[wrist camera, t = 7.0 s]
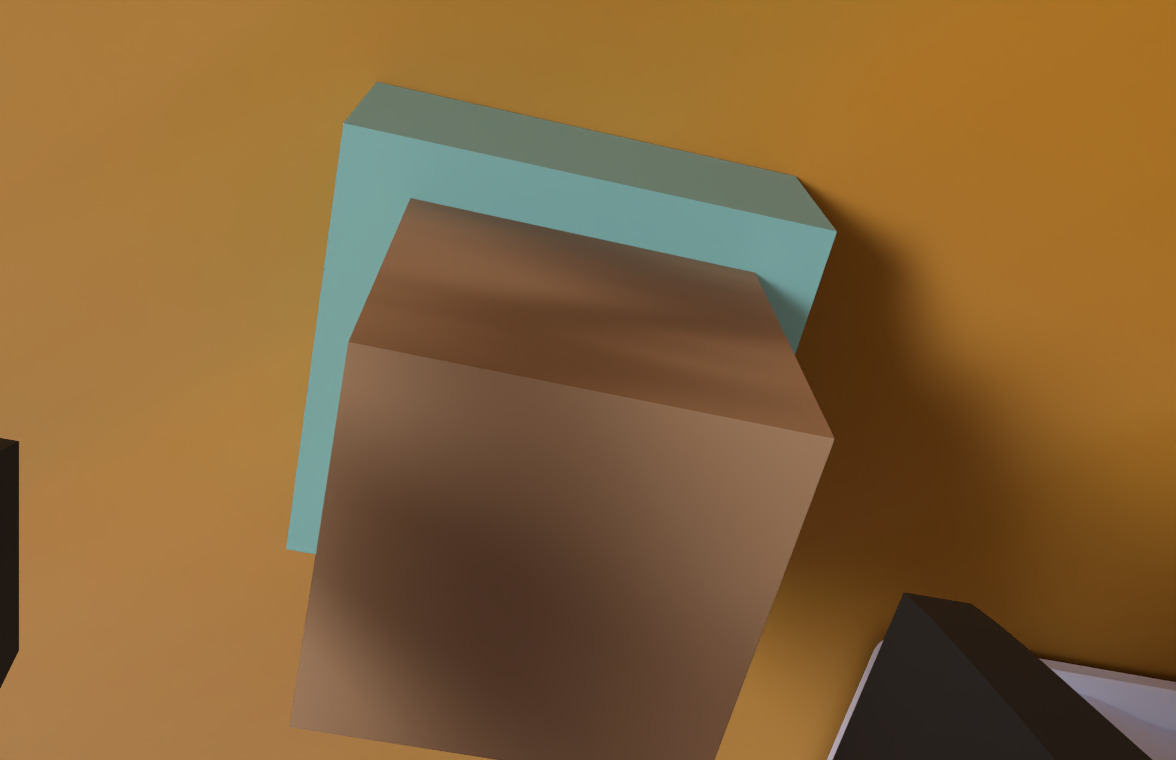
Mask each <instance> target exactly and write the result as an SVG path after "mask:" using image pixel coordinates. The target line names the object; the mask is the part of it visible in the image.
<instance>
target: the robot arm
mask: <svg viewBox="0 0 1176 760" xmlns="http://www.w3.org/2000/svg"><path fill="white" fill-rule="evenodd" d="M18 651H19V441H14V440H8V439H2V438H0V688H1V686H2V684H3V682H4V679H5V677H6V675H7V673H8V671H9V669H10V667H11V665H12V663H13V661H14V659H15V657H16V655H17V653H18ZM827 760H1176V682H1172V681H1166V680H1161V679H1155V678H1149V677H1143V676H1138V675H1132V674H1126V673H1120V672H1115V671H1109V670H1103V669H1098V668H1092V667H1086V666H1080V665H1075V664H1069V663H1063V662H1057V661H1052V660H1046V659H1040V658H1038V657H1037V656H1035V655H1034V654H1033V653H1032V652H1031V651H1030V650H1028V649H1027V648H1026V647H1025V646H1024V645H1023V644H1022V643H1020V642H1019V641H1018V640H1017V639H1016V638H1014V637H1013V636H1012V635H1011V634H1010V633H1008V632H1007V631H1006V630H1005V629H1004V628H1002V627H1001V626H1000V625H999V624H997V623H996V622H995V621H994V620H992V619H991V618H990V617H988V616H987V615H986V614H984V613H983V612H982V611H980V610H979V609H978V608H976V607H975V606H974V605H972V604H969V603H963V602H957V601H951V600H945V599H939V598H934V597H928V596H922V595H916V594H910V593H903V596H902V598H901V600H900V603H899V605H898V607H897V610H896V612H895V614H894V617H893V619H892V621H891V624H890V626H889V629H888V631H887V633H886V636H885V638H884V640H882V641H881V642H880V643H878V645H877V646H876V648H875V649H874V651H873V653H872V655H871V658H870V660H869V662H868V665H867V667H866V669H865V672H864V674H863V676H862V679H861V681H860V684H859V686H858V688H857V691H856V693H855V695H854V698H853V700H852V702H851V705H850V707H849V709H848V712H847V714H846V716H845V719H844V721H843V723H842V726H841V728H840V730H839V733H838V735H837V737H836V740H835V742H834V744H833V747H832V749H831V751H830V754H829V756H828V758H827Z"/></svg>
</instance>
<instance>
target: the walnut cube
mask: <svg viewBox="0 0 1176 760" xmlns="http://www.w3.org/2000/svg"><path fill="white" fill-rule="evenodd" d="M834 439H835V438H834V436H833V434H832V432H831V430H830V428H829V426H828V424H827V422H826V420H825V418H824V415H823V413H822V411H821V409H820V407H819V405H818V403H817V401H816V399H815V397H814V395H813V393H812V390H811V388H810V386H809V384H808V382H807V380H806V378H805V376H804V374H803V372H802V370H801V368H800V365H799V363H798V361H797V359H796V357H795V355H794V353H793V351H792V349H791V347H790V345H789V342H788V340H787V338H786V336H785V334H784V332H783V330H782V328H781V326H780V324H779V322H778V320H777V317H776V315H775V313H774V311H773V309H772V307H771V305H770V303H769V301H768V299H767V297H766V295H765V292H764V290H763V288H762V286H761V284H760V282H759V280H758V278H757V276H756V274H755V272H750V271H746V270H741V269H736V268H732V267H727V266H722V265H718V264H713V263H709V262H704V261H699V260H695V259H690V258H685V257H681V256H676V255H672V254H667V253H662V252H658V251H653V250H649V249H644V248H639V247H635V246H630V245H625V244H621V243H616V242H612V241H607V240H602V239H598V238H593V237H589V236H584V235H579V234H575V233H570V232H565V231H561V230H556V229H552V228H547V227H542V226H538V225H533V224H529V223H524V222H519V221H515V220H510V219H505V218H501V217H496V216H492V215H487V214H482V213H478V212H473V211H469V210H464V209H459V208H455V207H450V206H445V205H441V204H436V203H432V202H427V201H422V200H418V199H413V198H410V200H409V203H408V205H407V207H406V209H405V212H404V214H403V216H402V219H401V221H400V223H399V226H398V228H397V230H396V233H395V235H394V237H393V240H392V242H391V244H390V246H389V249H388V251H387V253H386V256H385V258H384V260H383V263H382V265H381V267H380V270H379V272H378V274H377V277H376V279H375V281H374V283H373V286H372V288H371V290H370V293H369V295H368V297H367V300H366V302H365V304H364V307H363V309H362V311H361V314H360V316H359V318H358V320H357V323H356V325H355V327H354V330H353V332H352V334H351V337H350V339H349V341H348V347H347V353H346V360H345V366H344V373H343V379H342V386H341V392H340V399H339V406H338V412H337V419H336V425H335V432H334V438H333V445H332V451H331V458H330V464H329V471H328V478H327V484H326V491H325V497H324V504H323V510H322V517H321V523H320V530H319V536H318V543H317V550H316V556H315V563H314V569H313V576H312V582H311V589H310V595H309V602H308V608H307V615H306V622H305V628H304V635H303V641H302V648H301V654H300V661H299V667H298V674H297V680H296V687H295V694H294V700H293V707H292V713H291V720H290V726H289V727H291V728H297V729H304V730H310V731H316V732H323V733H329V734H336V735H342V736H349V737H355V738H362V739H368V740H374V741H381V742H387V743H394V744H400V745H407V746H413V747H419V748H426V749H432V750H439V751H445V752H452V753H458V754H464V755H471V756H477V757H484V758H490V759H497V760H715V757H716V754H717V752H718V749H719V746H720V744H721V741H722V738H723V736H724V733H725V730H726V728H727V725H728V722H729V720H730V717H731V714H732V712H733V709H734V706H735V704H736V701H737V698H738V696H739V693H740V690H741V688H742V685H743V682H744V680H745V677H746V674H747V672H748V669H749V666H750V664H751V661H752V658H753V656H754V653H755V650H756V648H757V645H758V642H759V640H760V637H761V634H762V632H763V629H764V626H765V624H766V621H767V618H768V616H769V613H770V610H771V608H772V605H773V602H774V600H775V597H776V594H777V592H778V589H779V586H780V584H781V581H782V578H783V576H784V573H785V570H786V568H787V565H788V562H789V560H790V557H791V554H792V552H793V549H794V546H795V544H796V541H797V538H798V536H799V533H800V530H801V528H802V525H803V522H804V520H805V517H806V514H807V512H808V509H809V506H810V504H811V501H812V498H813V495H814V493H815V490H816V487H817V485H818V482H819V479H820V477H821V474H822V471H823V469H824V466H825V463H826V461H827V458H828V455H829V453H830V450H831V447H832V445H833V442H834Z"/></svg>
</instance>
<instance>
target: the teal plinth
mask: <svg viewBox="0 0 1176 760" xmlns="http://www.w3.org/2000/svg"><path fill="white" fill-rule="evenodd" d="M410 198H413V199H418V200H422V201H427V202H432V203H436V204H441V205H445V206H450V207H455V208H459V209H464V210H469V211H473V212H478V213H482V214H487V215H492V216H496V217H501V218H505V219H510V220H515V221H519V222H524V223H529V224H533V225H538V226H542V227H547V228H552V229H556V230H561V231H565V232H570V233H575V234H579V235H584V236H589V237H593V238H598V239H602V240H607V241H612V242H616V243H621V244H625V245H630V246H635V247H639V248H644V249H649V250H653V251H658V252H662V253H667V254H672V255H676V256H681V257H685V258H690V259H695V260H699V261H704V262H709V263H713V264H718V265H722V266H727V267H732V268H736V269H741V270H746V271H750V272H755V274H756V276H757V278H758V280H759V282H760V284H761V286H762V288H763V290H764V292H765V295H766V297H767V299H768V301H769V303H770V305H771V307H772V309H773V311H774V313H775V315H776V317H777V320H778V322H779V324H780V326H781V328H782V330H783V332H784V334H785V336H786V338H787V340H788V342H789V345H790V347H791V349H792V351H793V353H794V355H795V353H796V350H797V348H798V345H799V342H800V339H801V336H802V333H803V330H804V327H805V324H806V321H807V318H808V315H809V312H810V309H811V306H812V303H813V301H814V298H815V295H816V292H817V289H818V286H819V283H820V280H821V277H822V274H823V271H824V268H825V265H826V262H827V259H828V256H829V253H830V251H831V248H832V245H833V242H834V239H835V236H836V233H837V231H836V230H835V228H834V227H833V226H832V224H831V223H830V222H829V220H828V219H827V218H826V216H825V215H824V214H823V212H822V211H821V210H820V208H819V207H818V206H817V204H816V203H815V202H814V200H813V199H812V198H811V196H810V195H809V194H808V192H807V191H806V190H805V188H804V187H803V186H802V184H801V183H800V182H799V180H798V179H797V178H796V176H792V175H788V174H783V173H779V172H775V171H770V170H766V169H761V168H757V167H752V166H748V165H743V164H739V163H735V162H730V161H726V160H721V159H717V158H712V157H708V156H703V155H699V154H695V153H690V152H686V151H681V150H677V149H672V148H668V147H664V146H659V145H655V144H650V143H646V142H641V141H637V140H632V139H628V138H624V137H619V136H615V135H610V134H606V133H601V132H597V131H592V130H588V129H584V128H579V127H575V126H570V125H566V124H561V123H557V122H553V121H548V120H544V119H539V118H535V117H530V116H526V115H521V114H517V113H513V112H508V111H504V110H499V109H495V108H490V107H486V106H481V105H477V104H473V103H468V102H464V101H459V100H455V99H450V98H446V97H441V96H437V95H433V94H428V93H424V92H419V91H415V90H410V89H406V88H402V87H397V86H393V85H388V84H384V83H379V82H376V83H375V85H374V86H373V87H372V88H371V90H370V91H369V92H368V93H367V95H366V96H365V97H364V98H363V100H362V101H361V102H360V103H359V105H358V106H357V107H356V108H355V109H354V111H353V112H352V113H351V114H350V116H349V117H348V118H347V119H346V121H345V122H344V123H343V130H342V138H341V145H340V153H339V160H338V168H337V175H336V183H335V190H334V197H333V205H332V212H331V220H330V227H329V235H328V242H327V250H326V257H325V264H324V272H323V279H322V287H321V294H320V302H319V309H318V316H317V324H316V331H315V339H314V346H313V354H312V361H311V369H310V376H309V383H308V391H307V398H306V406H305V413H304V421H303V428H302V436H301V443H300V450H299V458H298V465H297V473H296V480H295V488H294V495H293V503H292V510H291V517H290V525H289V532H288V540H287V547H286V549H288V550H294V551H300V552H306V553H312V554H316V550H317V543H318V536H319V530H320V523H321V517H322V510H323V504H324V497H325V491H326V484H327V478H328V471H329V464H330V458H331V451H332V445H333V438H334V432H335V425H336V419H337V412H338V406H339V399H340V392H341V386H342V379H343V373H344V366H345V360H346V353H347V347H348V341H349V339H350V337H351V334H352V332H353V330H354V327H355V325H356V323H357V320H358V318H359V316H360V314H361V311H362V309H363V307H364V304H365V302H366V300H367V297H368V295H369V293H370V290H371V288H372V286H373V283H374V281H375V279H376V277H377V274H378V272H379V270H380V267H381V265H382V263H383V260H384V258H385V256H386V253H387V251H388V249H389V246H390V244H391V242H392V240H393V237H394V235H395V233H396V230H397V228H398V226H399V223H400V221H401V219H402V216H403V214H404V212H405V209H406V207H407V205H408V203H409V200H410Z"/></svg>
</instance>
